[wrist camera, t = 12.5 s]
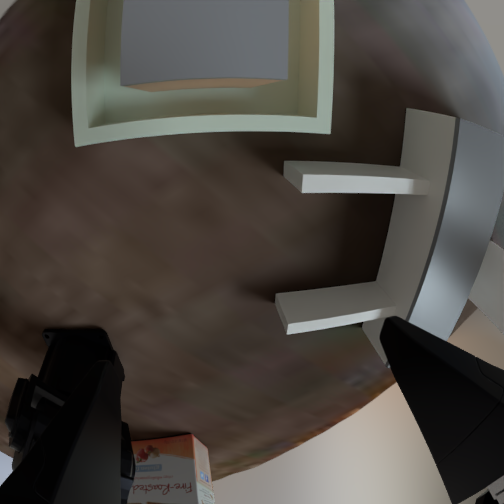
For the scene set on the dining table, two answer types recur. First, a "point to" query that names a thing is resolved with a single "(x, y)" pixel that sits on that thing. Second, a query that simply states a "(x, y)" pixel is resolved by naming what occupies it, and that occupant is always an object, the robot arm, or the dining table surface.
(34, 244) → the dining table surface
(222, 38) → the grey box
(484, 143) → the grey forked piece
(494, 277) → the cylindrical container
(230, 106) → the tray
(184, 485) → the cracker box
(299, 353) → the dining table surface
